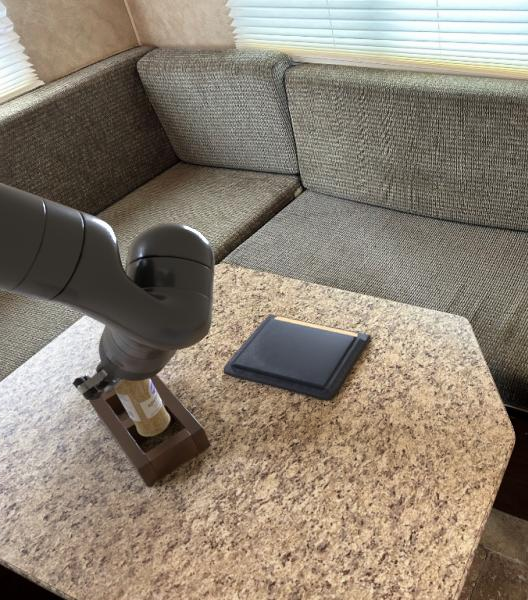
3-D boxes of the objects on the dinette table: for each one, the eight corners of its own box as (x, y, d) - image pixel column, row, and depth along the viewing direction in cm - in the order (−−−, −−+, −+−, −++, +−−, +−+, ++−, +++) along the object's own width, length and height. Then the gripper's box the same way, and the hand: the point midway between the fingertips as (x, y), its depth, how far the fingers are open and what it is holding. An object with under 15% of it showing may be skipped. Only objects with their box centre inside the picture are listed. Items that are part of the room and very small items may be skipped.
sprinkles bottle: (173, 429, 82) (138, 358, 74) (139, 443, 81) (99, 372, 73) (168, 407, 86) (133, 337, 77) (135, 420, 84) (96, 350, 76)
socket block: (147, 487, 81) (137, 470, 79) (99, 418, 92) (88, 400, 89) (211, 445, 86) (203, 427, 83) (158, 383, 96) (149, 366, 94)
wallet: (217, 365, 96) (270, 306, 106) (220, 373, 97) (272, 314, 108) (327, 396, 89) (372, 330, 99) (329, 405, 90) (373, 338, 100)
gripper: (173, 276, 69) (149, 320, 83) (55, 350, 60) (50, 385, 74) (216, 327, 69) (184, 362, 83) (105, 408, 61) (91, 432, 75)
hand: (121, 373), depth 79 cm, fingers closed on sprinkles bottle, 4 cm apart
